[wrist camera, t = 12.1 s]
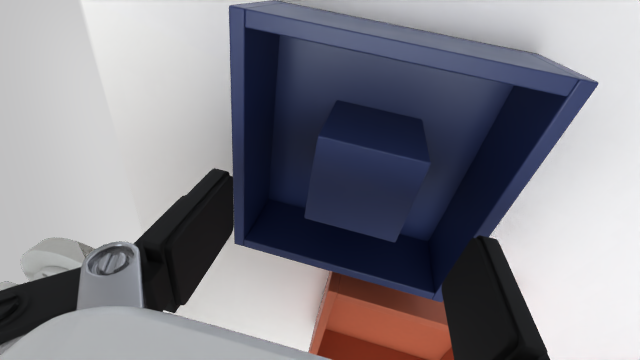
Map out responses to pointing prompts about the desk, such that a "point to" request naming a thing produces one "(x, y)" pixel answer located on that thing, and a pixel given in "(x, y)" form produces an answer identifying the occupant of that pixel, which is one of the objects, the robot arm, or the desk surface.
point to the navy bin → (396, 97)
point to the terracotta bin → (378, 323)
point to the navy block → (367, 170)
